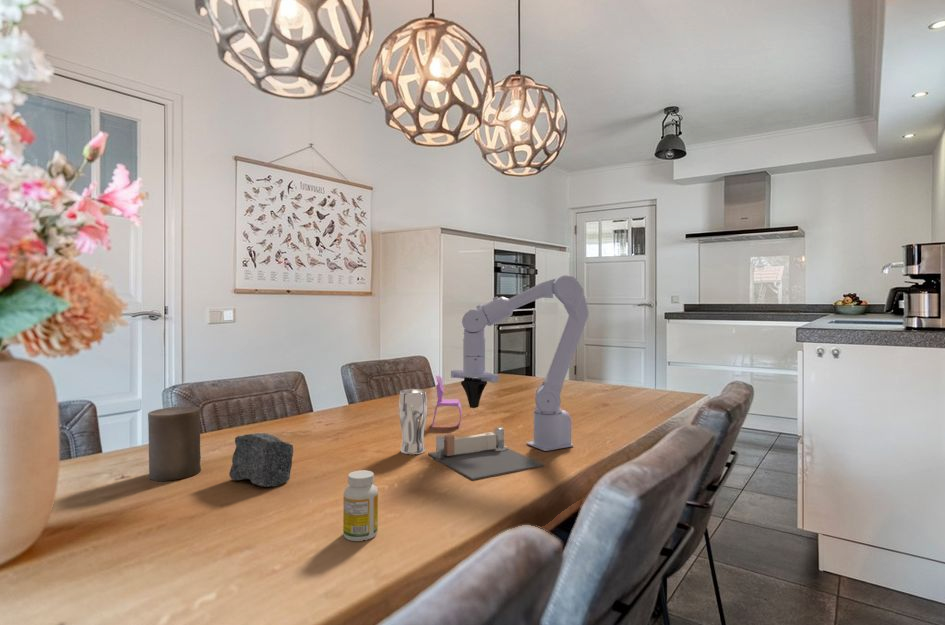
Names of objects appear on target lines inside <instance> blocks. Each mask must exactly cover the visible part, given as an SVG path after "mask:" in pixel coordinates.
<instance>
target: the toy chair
mask: <svg viewBox="0 0 945 625" xmlns="http://www.w3.org/2000/svg"><path fill="white" fill-rule="evenodd" d="M435 378H436V382H437V384H436V385H435V388H436V394H437V396H436V397H437V402H436V405H435V408H434V414H433V418H432V419H433V420H432V422H431V427H434V424H435V422H436V421H435V420H436V415H437V409H438V407H446V406H447V407H457V408H458V410H459V421H458V425H457V428H458V429H460V425H461V422H462V421H461V419H462V405H461V402H460V398H459V399H458V398H455V399H454V398H453V399H449V398H448V399H446V398H443V395H444V391H445V388H444V384H443V379H442V377H441V376H440V375H436V376H435Z"/></svg>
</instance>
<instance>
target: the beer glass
mask: <svg viewBox="0 0 945 625" xmlns="http://www.w3.org/2000/svg"><path fill="white" fill-rule="evenodd" d="M398 398H399V399H398V401H399V402H398V416H399V417H398V418H399V424H400V428H401V437H402V438H401V444H400V453H401V454H403V455H407V454H409V456H413V455H415V454H416V455H420V454H424V453H425V452H426V445H425V437H424V436H425V428H426V422H427V417H428V416H427V415H428V397H427V390H426V389H421V388H408V389H407V388H406V389H402V390H399V397H398Z"/></svg>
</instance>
